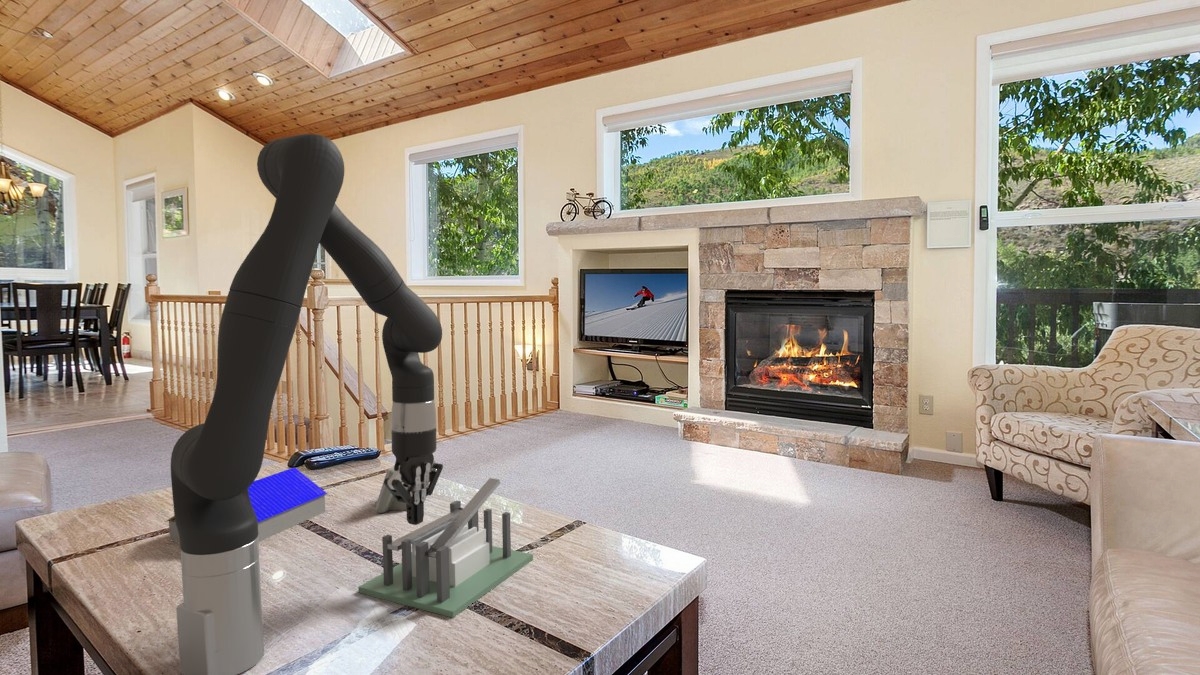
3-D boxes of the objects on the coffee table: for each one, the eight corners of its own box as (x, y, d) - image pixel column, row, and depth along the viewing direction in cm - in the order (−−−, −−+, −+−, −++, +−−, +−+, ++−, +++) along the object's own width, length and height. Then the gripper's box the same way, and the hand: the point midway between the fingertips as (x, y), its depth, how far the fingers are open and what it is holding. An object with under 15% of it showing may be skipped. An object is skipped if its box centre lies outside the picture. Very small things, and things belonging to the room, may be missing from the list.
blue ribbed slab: (328, 513, 150) (326, 470, 149) (234, 555, 127) (232, 505, 126) (266, 504, 156) (264, 463, 156) (166, 543, 133) (163, 495, 132)
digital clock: (408, 491, 165) (407, 450, 164) (438, 495, 161) (437, 453, 160) (363, 512, 149) (362, 467, 149) (395, 517, 146) (394, 471, 145)
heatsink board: (453, 617, 102) (451, 558, 101) (358, 592, 110) (356, 537, 110) (532, 559, 123) (532, 510, 123) (448, 541, 132) (447, 495, 131)
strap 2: (437, 559, 105) (435, 555, 105) (425, 557, 106) (424, 553, 106) (500, 483, 121) (499, 479, 121) (490, 481, 122) (489, 477, 122)
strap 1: (398, 551, 108) (397, 546, 108) (387, 548, 110) (387, 543, 109) (470, 513, 126) (470, 508, 126) (460, 511, 127) (460, 507, 127)
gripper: (404, 435, 105) (405, 539, 107) (455, 421, 117) (456, 514, 119) (369, 431, 108) (371, 532, 110) (422, 417, 120) (423, 508, 122)
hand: (415, 522), depth 114 cm, fingers closed
